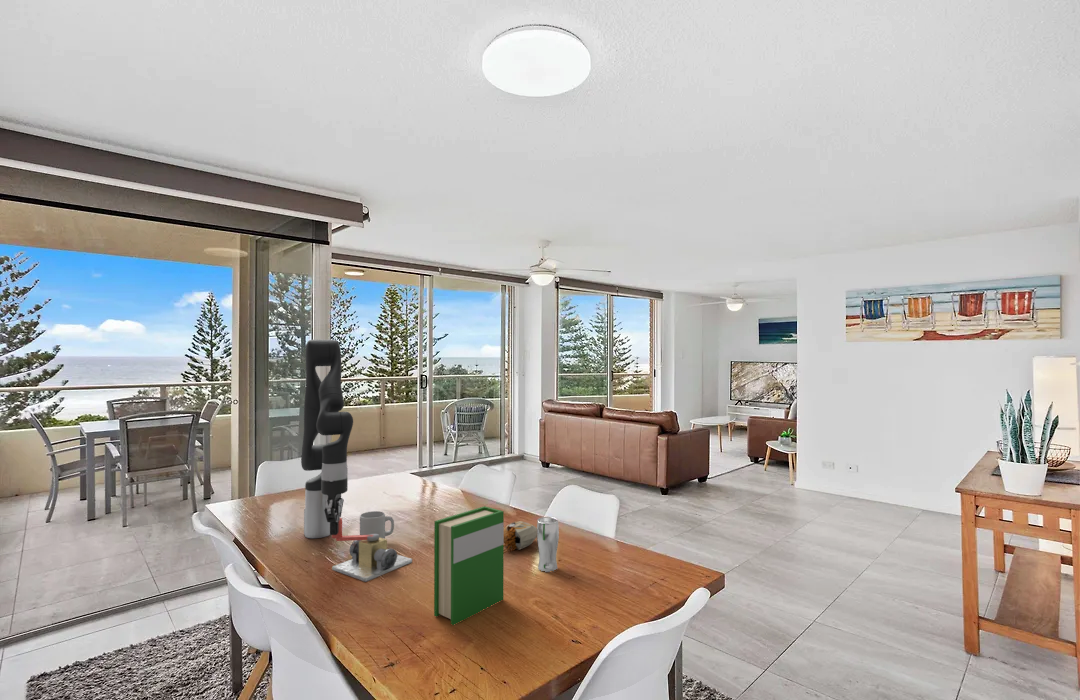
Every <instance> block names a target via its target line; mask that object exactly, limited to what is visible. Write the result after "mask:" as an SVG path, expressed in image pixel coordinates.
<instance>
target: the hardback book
mask: <svg viewBox="0 0 1080 700" xmlns="http://www.w3.org/2000/svg"><path fill="white" fill-rule="evenodd" d="M504 517H505V516H504V510H500V509H497V508H492V507H489V506H486V505H484V506H482V507H478V508H477V507H476V508H474V509H471V510H467V511H463V512H460V513H456V514H455V515H451V516H447V517H444V518H443V517H442V518H441V519H437V520H434V529H433V530H434V534H433V535H434V536H433V537H434V541H433V542H434V546H433V547H434V548H433V549H434V551H433V552H434V553H433V555H434V559H433V560H434V562H433V563H434V564H433V565H434V566H433V568H434V569H433V571H434V572H433V574H434V575H433V576H434V577H433V579H434V580H433V582H434V583H433V585H434V586H433V587H434V588H433V589H434V591H433V592H434V593H433V596H434V597H433V598H434V599H433V603H434V604H433V615H434V617H435V616H436V617H435V618H438V617H439V615H440V616H443V617H444V618H448V619H450V625H451V624H452V626H455V625H457V624H459V623H461V622H463V621H465V620H467V619H469V618H471V617H472V615H473V616H474V614H475V615H476V613H477V614H479V613H481V612H483V611H484V610H483V609H485V610H487V609H488V608H487V607H489V608H491V607H492V606H491V605H493V604H495V603H497V602H499V601H501V600H503V601H504V559H505V558H504V555H505V553H504V552H505V551H504V550H505V549H504V548H505V546H504V545H505V543H504V527H505V526H504V523H505V521H504V519H505V518H504ZM501 602H502V601H501ZM499 603H500V602H499ZM497 604H498V603H497ZM495 605H496V604H495ZM490 606H491V607H490ZM493 606H494V605H493ZM486 608H487V609H486ZM482 610H483V611H482ZM480 611H481V612H480ZM478 612H479V613H478ZM437 616H438V617H437ZM470 616H471V617H470ZM468 617H469V618H468ZM466 618H467V619H466ZM464 619H465V620H464ZM462 620H463V621H462ZM460 621H461V622H460ZM458 622H459V623H458ZM456 623H457V624H456ZM454 624H455V625H454Z"/></svg>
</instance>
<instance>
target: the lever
mask: <svg viewBox="0 0 1080 700" xmlns="http://www.w3.org/2000/svg"><path fill="white" fill-rule="evenodd" d="M331 538H332V539H335V541H336V542H347V541H348V542H349V541H355V540H367V541H377V540H379V534H370V535H360V534H354V535H351V534H350V535H343V518H342V517H340V520H339V532H338V534H337V535H331Z"/></svg>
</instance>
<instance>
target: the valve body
mask: <svg viewBox="0 0 1080 700" xmlns="http://www.w3.org/2000/svg"><path fill="white" fill-rule="evenodd" d="M349 555H350V556H351V559H349V560H346V561H344V562H340V563H337V564H336V565H333V566H332V567H331V568H332V569H331V570H332V571H335V572H338V573H341V574H343V575H346V576H349V577H351V578H353V579H357V580H360V581H362V582H363V583H365V582H369V581H371V580H374V579H375V578H378V577H380V576H383V575H385V574H387V573H389V572H392V571H395V570H397V569H399V568H402V567H404V566H406V565H409V564H411V563H413V558H410V557H406V556H403V555H400V554H398V552H397V551H396V549H394V548H389V547H388V539H386V538H385V539H384V538H380V537H379V540H377V541H367V540H353V542H352V543H351V544H350V545H349Z"/></svg>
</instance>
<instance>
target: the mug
mask: <svg viewBox="0 0 1080 700" xmlns="http://www.w3.org/2000/svg"><path fill="white" fill-rule="evenodd" d="M388 521H389V522H390V529H389V530H386V522H388ZM394 529H395V520H394V518H393V517H392V516H390V515H386V514H385V512H383V511H379V510H378V511H377V510H373V511H366V512H364V513H361V514H360V515H359V535H370V534H379V537H380V538H384V539H386V537H387V536H388V537H389V536H390V535H392V533H393V532H394Z"/></svg>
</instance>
